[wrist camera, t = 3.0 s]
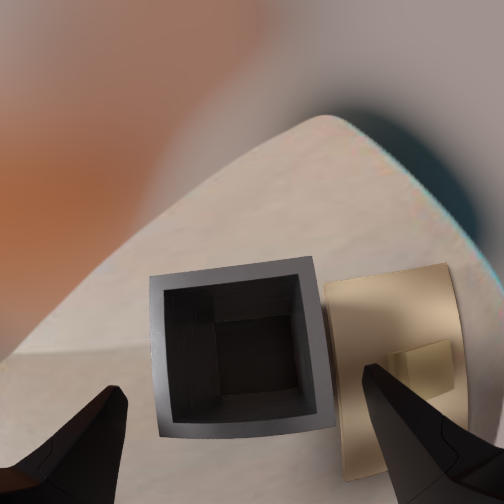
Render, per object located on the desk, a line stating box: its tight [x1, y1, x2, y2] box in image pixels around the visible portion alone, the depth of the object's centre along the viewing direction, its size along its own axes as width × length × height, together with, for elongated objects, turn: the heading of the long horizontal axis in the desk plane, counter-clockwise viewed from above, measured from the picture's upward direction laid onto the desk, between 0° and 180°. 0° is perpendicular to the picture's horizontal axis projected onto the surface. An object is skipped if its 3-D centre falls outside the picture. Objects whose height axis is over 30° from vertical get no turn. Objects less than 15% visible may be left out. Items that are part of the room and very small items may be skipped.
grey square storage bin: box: [149, 256, 336, 439], centre depth 13 cm, size 6×6×9 cm
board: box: [323, 263, 468, 482], centre depth 14 cm, size 14×10×4 cm
